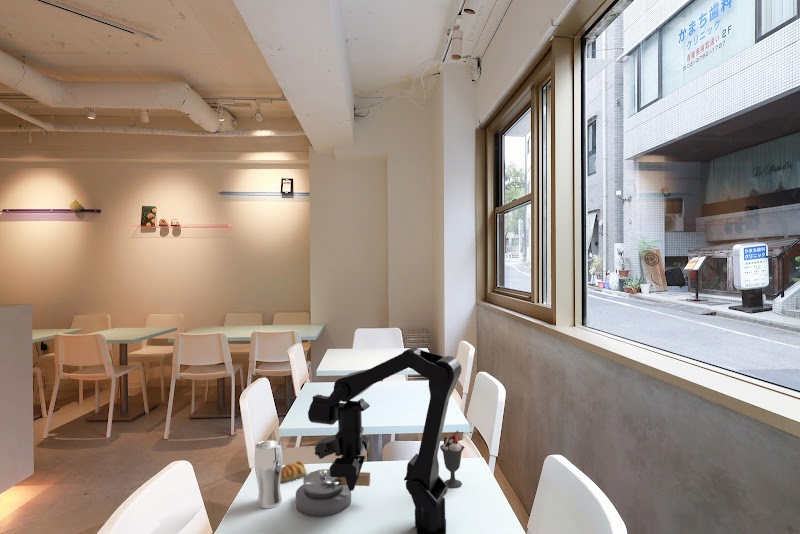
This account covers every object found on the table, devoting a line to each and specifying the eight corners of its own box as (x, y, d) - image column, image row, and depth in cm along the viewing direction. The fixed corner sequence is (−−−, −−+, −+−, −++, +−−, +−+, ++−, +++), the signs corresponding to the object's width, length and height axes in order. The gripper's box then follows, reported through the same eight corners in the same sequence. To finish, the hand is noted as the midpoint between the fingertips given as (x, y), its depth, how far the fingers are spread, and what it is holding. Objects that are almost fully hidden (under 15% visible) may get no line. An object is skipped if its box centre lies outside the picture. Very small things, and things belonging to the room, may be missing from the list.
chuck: (298, 498, 115) (297, 479, 115) (310, 480, 125) (309, 462, 125) (366, 500, 114) (365, 481, 114) (373, 481, 124) (372, 463, 124)
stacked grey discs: (356, 489, 126) (355, 478, 126) (344, 518, 112) (344, 505, 112) (305, 488, 128) (305, 477, 128) (288, 516, 114) (287, 503, 114)
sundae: (465, 490, 124) (463, 434, 124) (439, 489, 126) (438, 433, 125) (465, 479, 131) (464, 425, 131) (441, 477, 132) (440, 424, 132)
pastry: (278, 487, 129) (278, 473, 129) (268, 479, 134) (267, 466, 134) (308, 476, 135) (308, 463, 135) (297, 469, 140) (297, 457, 140)
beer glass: (249, 506, 119) (248, 447, 119) (269, 493, 125) (267, 437, 125) (270, 512, 116) (268, 451, 116) (289, 499, 122) (287, 441, 122)
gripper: (327, 414, 125) (328, 472, 125) (306, 440, 106) (308, 508, 106) (368, 414, 124) (370, 473, 124) (355, 440, 105) (356, 510, 105)
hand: (351, 490), depth 115 cm, fingers closed
